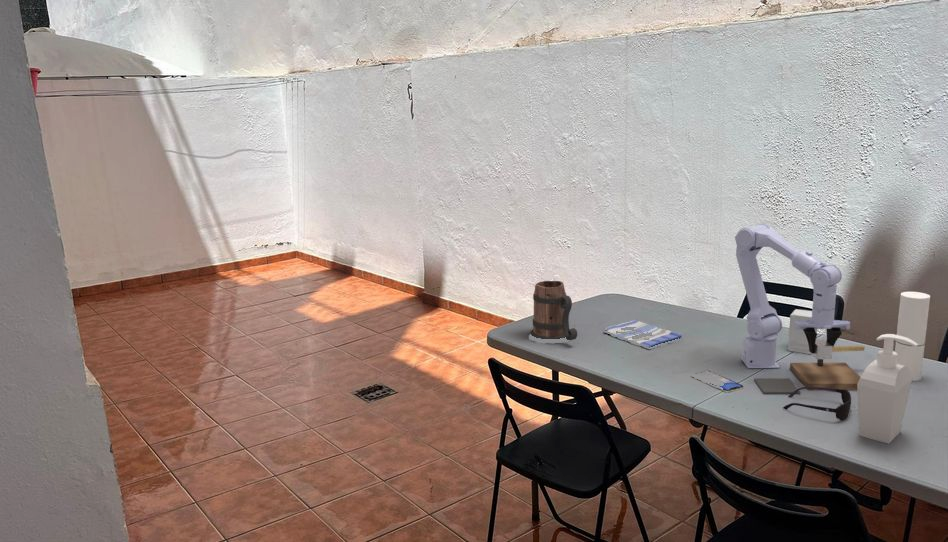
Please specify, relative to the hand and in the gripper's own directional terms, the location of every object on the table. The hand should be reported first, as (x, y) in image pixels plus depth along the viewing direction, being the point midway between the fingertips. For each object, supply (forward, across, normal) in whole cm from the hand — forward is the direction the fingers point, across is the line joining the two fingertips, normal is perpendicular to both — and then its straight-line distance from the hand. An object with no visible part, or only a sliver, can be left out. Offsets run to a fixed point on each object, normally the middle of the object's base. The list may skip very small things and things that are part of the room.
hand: (820, 352), depth 202 cm
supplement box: (+10, +5, +27) cm, 29 cm away
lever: (+3, +9, +9) cm, 13 cm away
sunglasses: (+10, -6, -18) cm, 21 cm away
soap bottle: (+10, +4, -33) cm, 34 cm away
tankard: (+10, -76, +40) cm, 87 cm away
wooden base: (+9, +3, +2) cm, 10 cm away
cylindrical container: (+10, +26, +4) cm, 28 cm away
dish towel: (+10, -45, +42) cm, 63 cm away
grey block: (+1, 0, 0) cm, 1 cm away
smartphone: (+10, -29, +1) cm, 30 cm away
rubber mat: (+9, -13, -4) cm, 16 cm away
